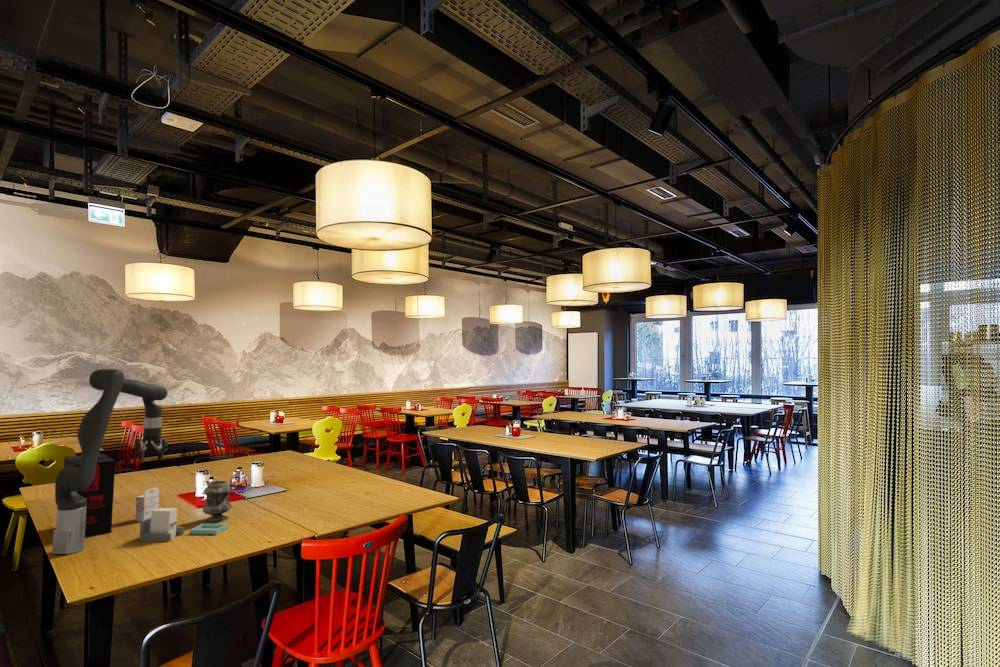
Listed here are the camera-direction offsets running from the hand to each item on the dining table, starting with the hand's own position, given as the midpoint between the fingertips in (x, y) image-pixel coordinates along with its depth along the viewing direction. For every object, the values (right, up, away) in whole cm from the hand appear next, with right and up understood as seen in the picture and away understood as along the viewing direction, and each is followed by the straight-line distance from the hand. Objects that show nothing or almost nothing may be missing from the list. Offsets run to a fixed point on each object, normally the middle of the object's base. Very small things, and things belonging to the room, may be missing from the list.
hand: (150, 460), depth 252 cm
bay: (+25, -27, -28) cm, 46 cm away
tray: (+40, -28, -19) cm, 52 cm away
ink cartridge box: (-1, -29, -2) cm, 29 cm away
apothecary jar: (+33, -29, -1) cm, 44 cm away
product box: (-17, -28, -19) cm, 37 cm away
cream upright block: (+25, -27, -28) cm, 46 cm away
